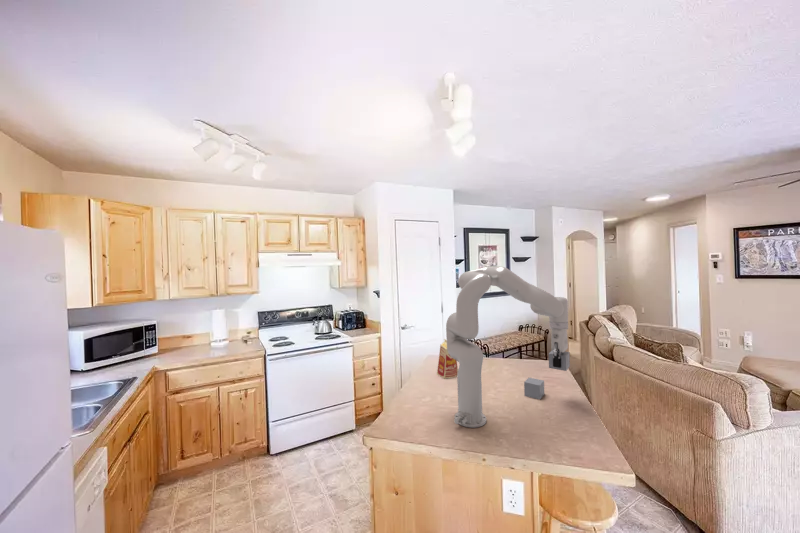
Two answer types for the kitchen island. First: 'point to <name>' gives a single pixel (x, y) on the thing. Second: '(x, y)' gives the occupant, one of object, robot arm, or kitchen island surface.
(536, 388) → the gray cube
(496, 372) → the kitchen island surface
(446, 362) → the milk carton
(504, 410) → the kitchen island surface
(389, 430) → the kitchen island surface
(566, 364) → the grey block
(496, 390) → the kitchen island surface
